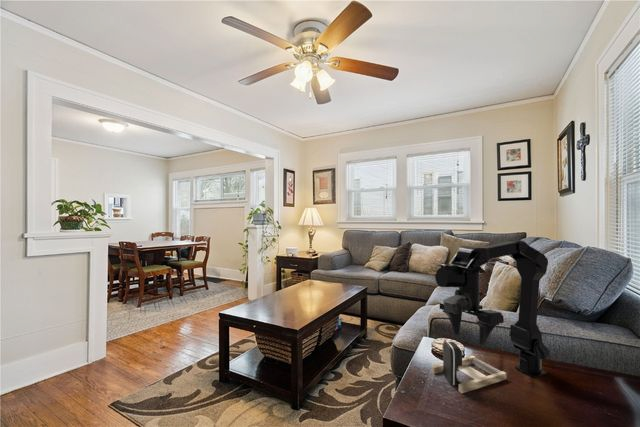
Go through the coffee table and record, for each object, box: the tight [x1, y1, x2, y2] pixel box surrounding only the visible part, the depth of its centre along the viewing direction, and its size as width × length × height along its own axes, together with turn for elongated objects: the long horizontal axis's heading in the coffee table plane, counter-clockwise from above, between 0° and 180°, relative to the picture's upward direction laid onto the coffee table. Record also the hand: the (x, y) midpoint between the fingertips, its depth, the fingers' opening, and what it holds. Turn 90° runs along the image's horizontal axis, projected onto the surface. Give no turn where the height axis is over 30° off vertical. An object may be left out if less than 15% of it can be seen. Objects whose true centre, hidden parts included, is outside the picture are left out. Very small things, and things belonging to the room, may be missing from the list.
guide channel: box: [430, 355, 507, 394], centre depth 96 cm, size 19×12×2 cm, turn 112°
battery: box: [442, 340, 463, 386], centre depth 94 cm, size 7×4×11 cm, turn 178°
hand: (468, 339), depth 90 cm, fingers open, 9 cm apart
